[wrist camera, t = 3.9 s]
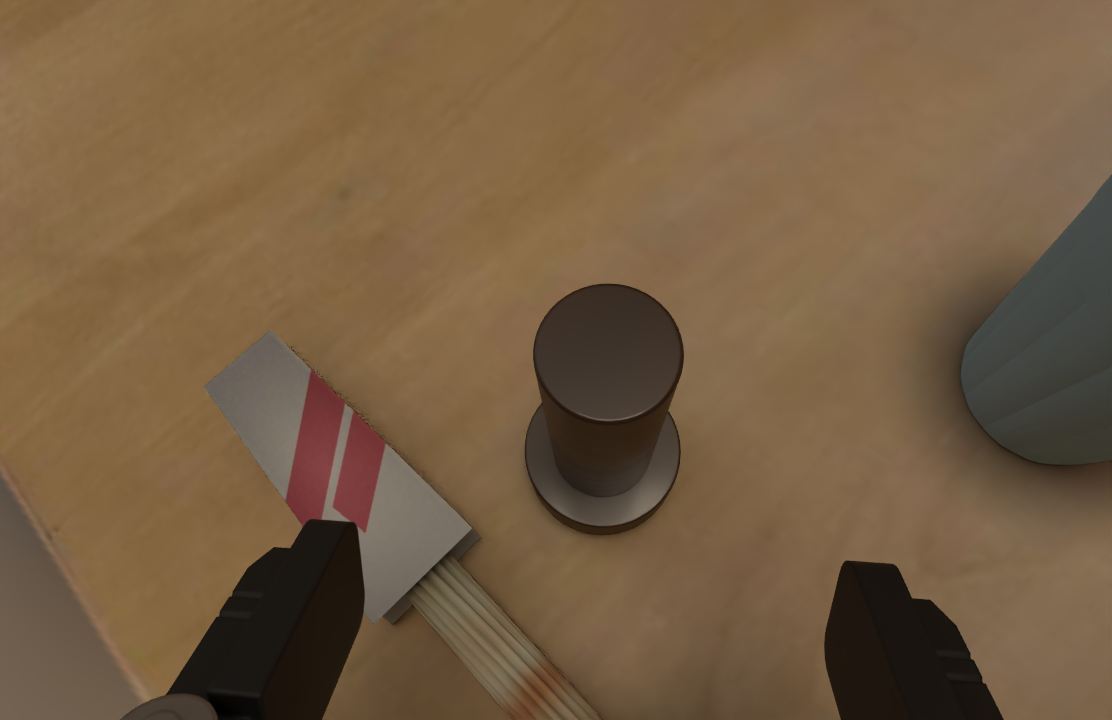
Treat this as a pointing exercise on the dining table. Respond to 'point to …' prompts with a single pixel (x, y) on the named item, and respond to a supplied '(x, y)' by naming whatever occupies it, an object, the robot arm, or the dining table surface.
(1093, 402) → the cup
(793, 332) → the dining table surface
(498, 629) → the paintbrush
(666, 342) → the grey brown flanged cylinder
